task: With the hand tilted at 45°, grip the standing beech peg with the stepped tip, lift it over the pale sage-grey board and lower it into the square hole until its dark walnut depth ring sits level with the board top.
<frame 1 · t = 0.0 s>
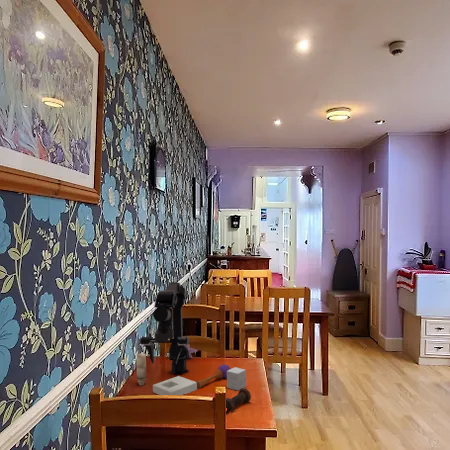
hand: (164, 363, 160), 15 cm above the table, tool pointing down, fingers open, 9 cm apart
kendama: (213, 382, 181), on the table
peg: (141, 384, 179), on the table
bolt: (233, 408, 155), on the table
board: (175, 390, 171), on the table
product box: (236, 387, 174), on the table
lily: (185, 360, 213), on the table
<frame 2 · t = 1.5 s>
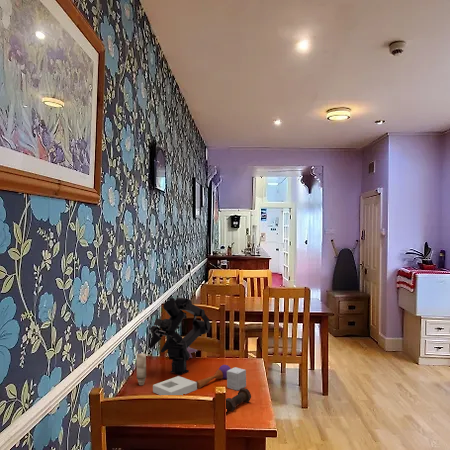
hand: (155, 350, 185), 14 cm above the table, tool tilted 45°, fingers open, 9 cm apart
nothing on the table moved.
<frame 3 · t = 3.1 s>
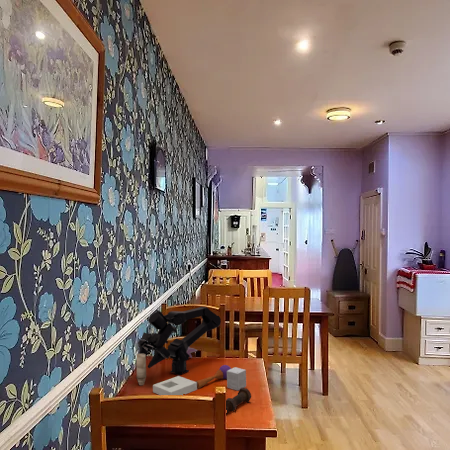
hand: (142, 365, 180), 8 cm above the table, tool tilted 45°, fingers open, 9 cm apart
nothing on the table moved.
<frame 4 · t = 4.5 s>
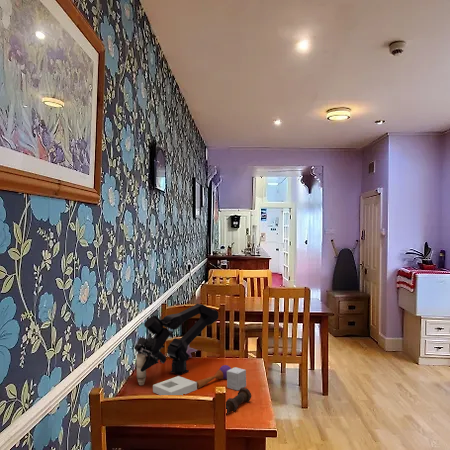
hand: (138, 370, 179), 7 cm above the table, tool tilted 45°, fingers closed on peg, 4 cm apart
peg: (141, 384, 179), on the table, touching gripper
everything else where it was.
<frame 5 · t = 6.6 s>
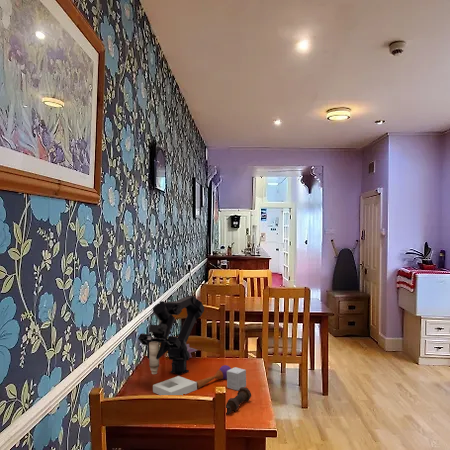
hand: (152, 358, 172), 14 cm above the table, tool tilted 45°, fingers closed on peg, 4 cm apart
peg: (154, 373, 173), point 7 cm above the table, touching gripper
when the fingers open (8 cm above the table, at t = 8.7 s): peg drops 2 cm, resting in board.
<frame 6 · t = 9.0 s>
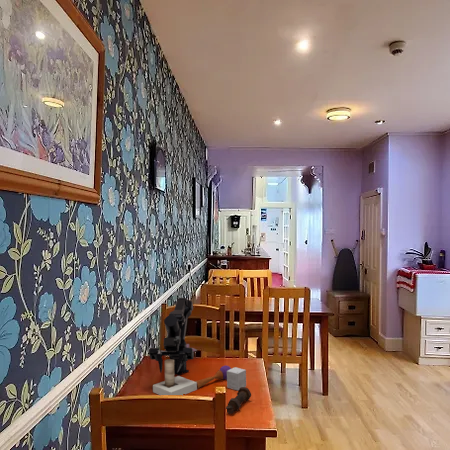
hand: (168, 372, 169), 9 cm above the table, tool tilted 45°, fingers open, 7 cm apart
peg: (169, 391, 171), resting in board
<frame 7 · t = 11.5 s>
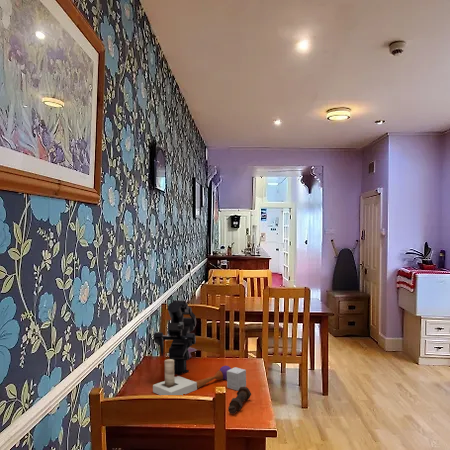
hand: (172, 355, 179), 13 cm above the table, tool tilted 45°, fingers open, 9 cm apart
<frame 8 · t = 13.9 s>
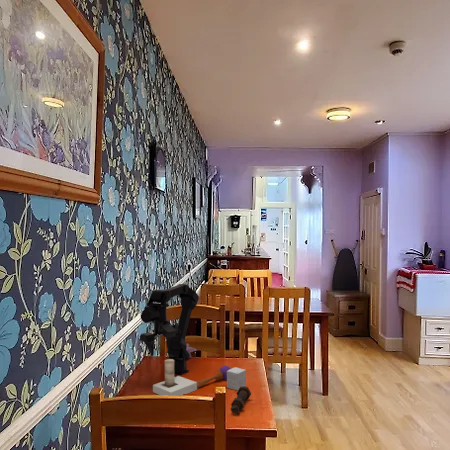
hand: (160, 353, 181), 13 cm above the table, tool pointing down, fingers open, 9 cm apart
at the end: peg 0.0 cm from the target spot on the board, point 0.0 cm above the board's base; peg tilted 0°; the gripper is holding nothing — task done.
